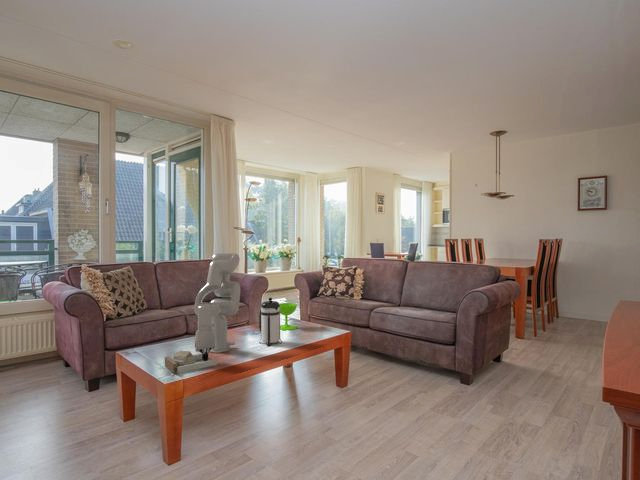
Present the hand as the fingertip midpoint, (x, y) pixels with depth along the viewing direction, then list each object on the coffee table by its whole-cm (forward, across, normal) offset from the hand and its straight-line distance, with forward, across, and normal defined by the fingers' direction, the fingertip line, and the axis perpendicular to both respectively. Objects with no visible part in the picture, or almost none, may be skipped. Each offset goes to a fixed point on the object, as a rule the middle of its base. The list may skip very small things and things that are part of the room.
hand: (205, 360), depth 210 cm
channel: (+1, +8, 0) cm, 8 cm away
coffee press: (+2, -47, -14) cm, 49 cm away
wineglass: (+2, -78, -42) cm, 88 cm away
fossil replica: (+1, +12, 0) cm, 12 cm away
